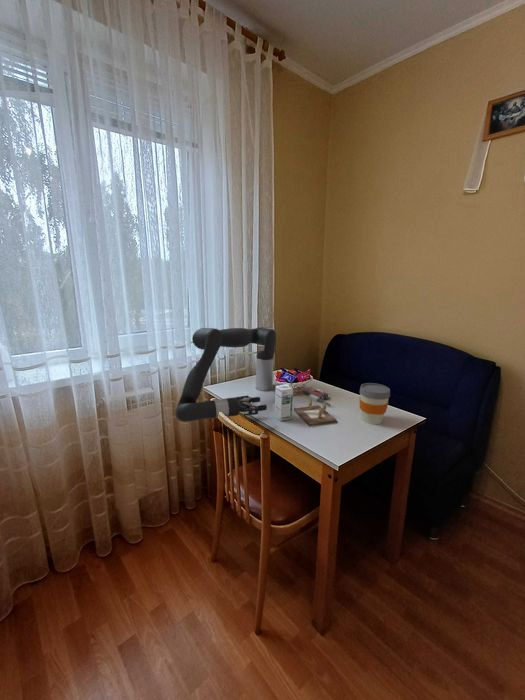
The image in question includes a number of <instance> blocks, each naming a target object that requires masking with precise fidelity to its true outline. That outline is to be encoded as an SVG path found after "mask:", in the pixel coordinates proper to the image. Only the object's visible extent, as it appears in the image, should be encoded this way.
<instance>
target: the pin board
mask: <svg viewBox="0 0 525 700" xmlns="http://www.w3.org/2000/svg"><path fill="white" fill-rule="evenodd" d="M312 401H313V400H312V399H308V405H307V406H303V407H301V406H299V407H294V408H293V411H294V413H295V414H296V415H298V417H299V418H300V419H302V420H303V422H304V423H305V424H307V425H308V427H315V426H316V427H317V426H322V425H329V424H336V423H337V422H338V420H337V418H335V417H334V416H333V415H332V414H331V413H330V412H328V411H327V410H326V409H327V404H326V403H322V406H321V405H319V404H318V405H317V404H316V405H312V404H313V402H312Z"/></svg>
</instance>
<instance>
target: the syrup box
mask: <svg viewBox="0 0 525 700" xmlns="http://www.w3.org/2000/svg"><path fill="white" fill-rule="evenodd" d="M293 399H294V388H293V386H291V385H289V384H288V383H287V384H280V385H275V398H274V402H275V405H274V416H275V417H276V419H277V420H279V421H280V422H281V421H286V420H292V419H293V403H294V402H293V401H294V400H293Z"/></svg>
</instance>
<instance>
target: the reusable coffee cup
mask: <svg viewBox="0 0 525 700" xmlns="http://www.w3.org/2000/svg"><path fill="white" fill-rule="evenodd" d="M359 395H360V396H359V398H358V399H359V400H358V401H359V409H360V419H361V421H363V422H364V423H366V424H370V425H380V424H382V423H381V422H383V420H384V415H385V413H386V412H387V409H388V405H389V399H390V397H391V389H390V388H389V387H388V386H386V385H384V384H380V383H374V382H366V383H362V384H360V388H359Z"/></svg>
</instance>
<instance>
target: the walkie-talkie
mask: <svg viewBox="0 0 525 700" xmlns="http://www.w3.org/2000/svg"><path fill="white" fill-rule="evenodd" d="M302 393H303V394H304V395H305V396H307V397H309V398H310V400H312V401H314V402H315V403H317V402H319V403H322V404H323V403H326V406H327V405H328V406H331V403H329V402H326V401H325V400H328V399H329V393H327V392H325V391H324V390H323V389H321V388H315V387H308V388H305V389H304V390H302Z"/></svg>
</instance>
